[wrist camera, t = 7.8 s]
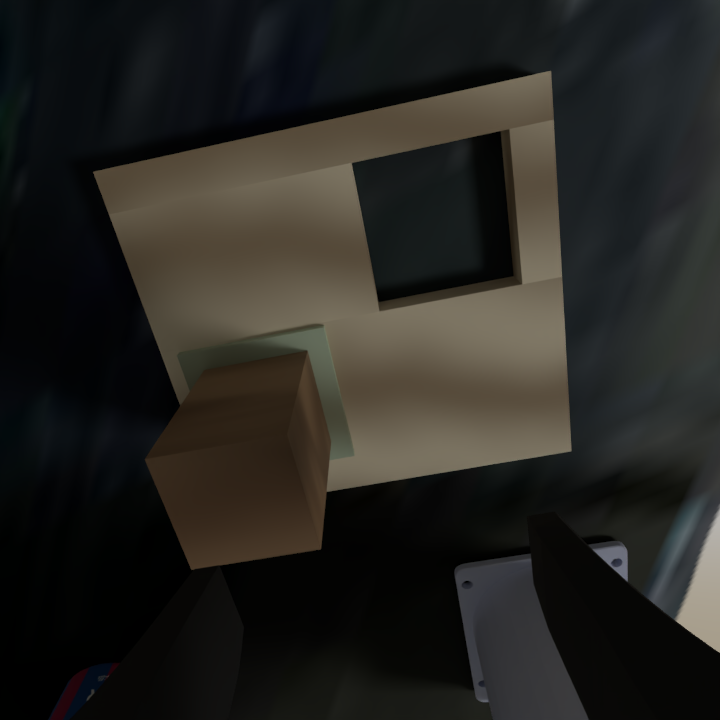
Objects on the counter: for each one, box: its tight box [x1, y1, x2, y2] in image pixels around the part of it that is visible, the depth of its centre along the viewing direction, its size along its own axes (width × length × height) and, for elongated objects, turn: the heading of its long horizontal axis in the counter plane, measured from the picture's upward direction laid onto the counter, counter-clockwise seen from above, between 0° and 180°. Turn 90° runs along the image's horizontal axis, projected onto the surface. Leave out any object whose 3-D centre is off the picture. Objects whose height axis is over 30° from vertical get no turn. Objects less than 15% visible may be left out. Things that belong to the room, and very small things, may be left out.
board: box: [93, 71, 571, 492], centre depth 20 cm, size 14×15×2 cm
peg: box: [145, 350, 331, 570], centre depth 18 cm, size 4×4×6 cm
